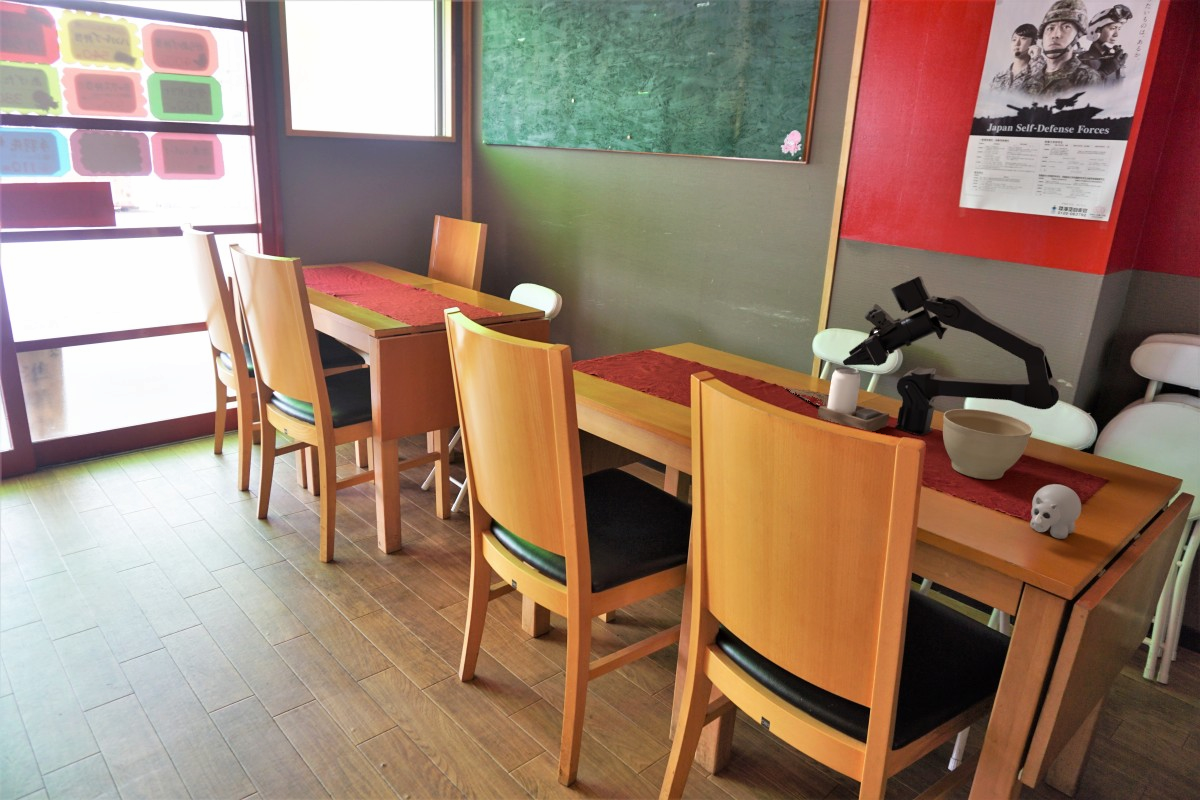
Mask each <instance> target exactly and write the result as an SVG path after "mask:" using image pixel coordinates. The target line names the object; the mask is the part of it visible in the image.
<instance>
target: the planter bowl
mask: <svg viewBox="0 0 1200 800" xmlns="http://www.w3.org/2000/svg"><path fill="white" fill-rule="evenodd" d="M942 418H943V419H942V420H943V425H942V436H943V437H942V438H943V444H944V447H945V451H946V452H947V455H948V456H949V459H950V460H951V468H952V469H953V470H955V472H957V473H960V474H962V475H965V476H968V477H970V478H975V479H981V480H998V479H1001V478H1002V477H1003V476H1004V474H1005V472H1006V471H1008V470H1009V469H1010V468H1011V467H1012V466H1014V465H1015V464H1016V462H1018V461H1019V459H1020V458H1021V457H1022V455H1023V454H1024V452H1025V450H1026V448H1027V446H1028V443H1029V441H1030V437H1031V436H1032V434H1033V428H1032V426H1031V425H1030V424H1029V423H1027V422H1025V421H1023V420H1021V419H1019V418H1016V417H1013V416H1010V415H1008V414H1007V415H1006V414H1005V413H1004V414H1003V413H1000V412H995V411H990V410H985V409H984V410H982V409H973V408H957V409H956V408H955V409H950V410H949V409H948V410H947V411H945V412H944V413H943V417H942Z"/></svg>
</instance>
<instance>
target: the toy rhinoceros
mask: <svg viewBox="0 0 1200 800" xmlns="http://www.w3.org/2000/svg"><path fill="white" fill-rule="evenodd" d="M1031 504H1032V507H1031V511H1030V513H1031V517H1032V518H1031V520H1030V523H1029V526H1030V527H1031V528H1032V529H1033V530H1034V531H1035V532H1038V533H1045V532H1046V531H1049V533H1050V535H1051V536H1052V537H1053V538H1055V539H1058V540H1059V539H1060V540H1061V539H1066V538H1068V535H1069V534H1073V533H1074V532H1075V530H1076V529H1075V528H1076V523H1075V522H1076V520H1077V519H1078V518H1079V517H1080V515H1081V512H1082V503H1081V499H1080V497H1079V495H1078V494H1077V493H1076V492H1075V491H1074V489H1072V488H1070V487H1069V486H1065V485H1063V484H1056V483H1053V484H1047V485H1045V486H1042V487H1041V488H1040V489H1038V490H1037V491H1036V492H1035V494H1034V496H1033V498H1032V502H1031ZM1049 529H1050V530H1049Z"/></svg>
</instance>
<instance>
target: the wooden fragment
mask: <svg viewBox="0 0 1200 800" xmlns="http://www.w3.org/2000/svg"><path fill="white" fill-rule="evenodd" d="M784 388H785V389H786V388H788V389H790V390H791V391H790V390H789V391H790V392H789V391H788V392H789V393H792V394H793V393H794V394H793V395H795V392H796V393H797V395H798V394H800V396H798V397H800V398H802V399H803V400H805V401H806V400H807V402H808V400H809V399H807V398H805V397H802V396H801V395H806V396H810V397H812V396H813V397H815V398H818V399H819V400H820V399H821V400H822V402H823V405H825V404H826V406H822V407H825V408H827V406H828V399H829V394H826V393H825V394H824V393H822V392H819V391H814V390H810V389H806V390H804V389H798V388H797V389H796V388H792V387H791V388H790V387H784ZM785 389H784V390H785ZM797 395H796V396H797ZM818 399H817V400H818ZM809 401H810V400H809ZM818 402H820V401H818ZM822 402H821V403H822ZM816 404H817V405H820V404H818V403H816Z"/></svg>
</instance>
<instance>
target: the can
mask: <svg viewBox="0 0 1200 800" xmlns="http://www.w3.org/2000/svg"><path fill="white" fill-rule="evenodd" d="M860 373H861V371H860V370H858V369H857V368H852V367H846V366H838V367H835V368H834V371H833V373H832V375H831V382H830V388H829V392H828V393H829V394H828V395H829V399H828V406H827V408H829V409H832V410H835V411H838V412H841V413H845V414H849V413H852V412H855V411H856V405H857V403H858V400H859V398H858V397H859V393H860V392H859V391H860V386H861V375H860Z"/></svg>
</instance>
